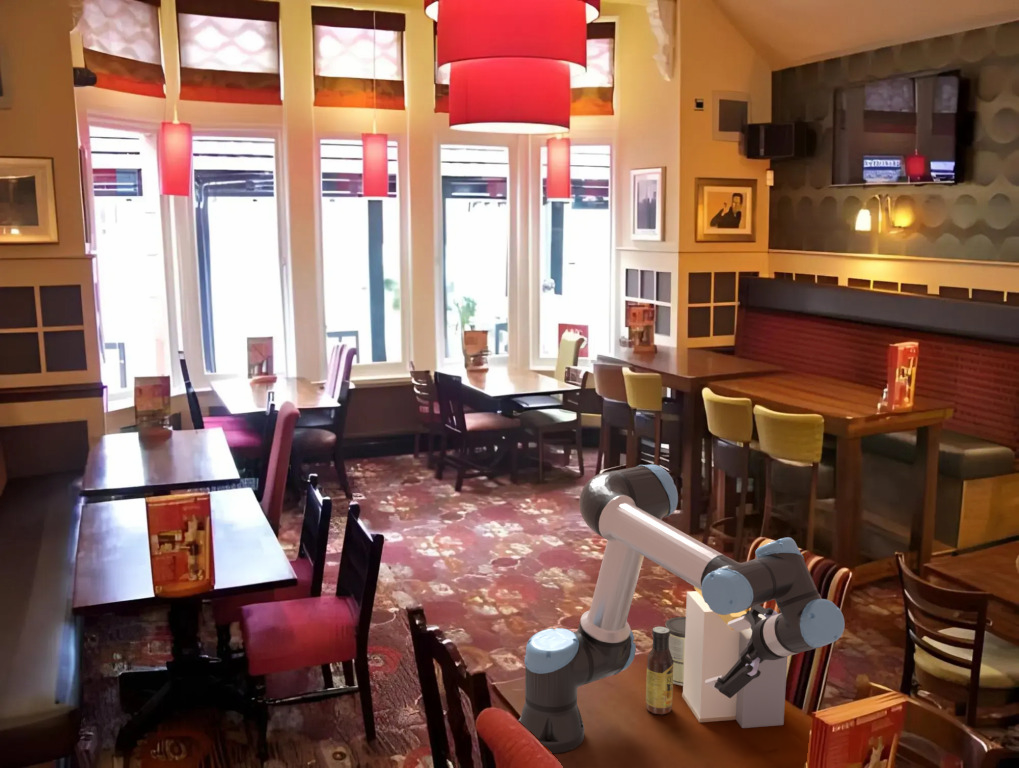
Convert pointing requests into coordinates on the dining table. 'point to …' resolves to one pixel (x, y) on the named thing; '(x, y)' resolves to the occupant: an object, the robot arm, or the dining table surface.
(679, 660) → the coffee can
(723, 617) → the yellow long bar
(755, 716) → the grey upright block
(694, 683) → the cream pillar
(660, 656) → the sauce bottle
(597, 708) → the dining table surface
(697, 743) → the dining table surface
